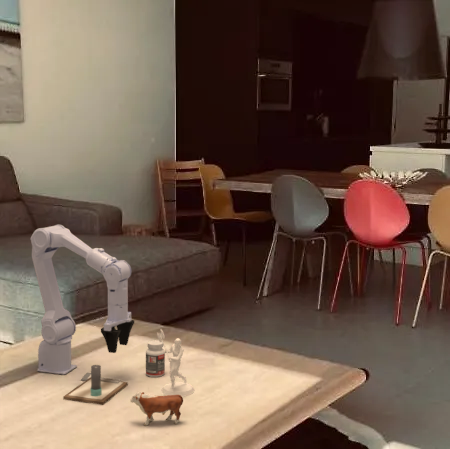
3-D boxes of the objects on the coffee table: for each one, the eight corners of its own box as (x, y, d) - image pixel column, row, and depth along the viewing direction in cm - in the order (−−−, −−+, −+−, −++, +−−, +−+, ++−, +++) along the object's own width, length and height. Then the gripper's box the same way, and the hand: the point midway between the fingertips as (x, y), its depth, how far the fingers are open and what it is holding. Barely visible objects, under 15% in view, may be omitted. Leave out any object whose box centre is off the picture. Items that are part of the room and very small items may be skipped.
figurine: (154, 388, 216) (154, 327, 213) (182, 381, 221) (182, 322, 219) (172, 399, 208) (173, 335, 205) (201, 391, 214) (201, 330, 211)
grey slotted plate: (80, 380, 221) (80, 379, 221) (87, 373, 227) (86, 372, 227) (94, 381, 221) (94, 380, 221) (99, 374, 226) (99, 373, 226)
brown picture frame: (63, 399, 206) (63, 394, 206) (90, 380, 222) (90, 375, 221) (103, 404, 203) (103, 399, 203) (127, 384, 218) (127, 380, 218)
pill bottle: (161, 378, 224) (161, 346, 223) (143, 376, 225) (143, 344, 224) (166, 371, 230) (167, 340, 228) (148, 370, 231) (149, 339, 229)
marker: (88, 395, 207) (88, 367, 205) (92, 391, 210) (92, 364, 208) (99, 396, 206) (99, 368, 205) (103, 392, 209) (103, 365, 208)
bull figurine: (130, 419, 194) (130, 389, 193) (182, 418, 195) (183, 388, 194) (129, 426, 189) (129, 395, 188) (183, 425, 191) (183, 394, 189)
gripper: (119, 310, 210) (119, 357, 212) (140, 298, 223) (140, 342, 225) (96, 308, 212) (97, 354, 214) (118, 296, 225) (119, 340, 227)
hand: (118, 348), depth 220 cm, fingers open, 7 cm apart
